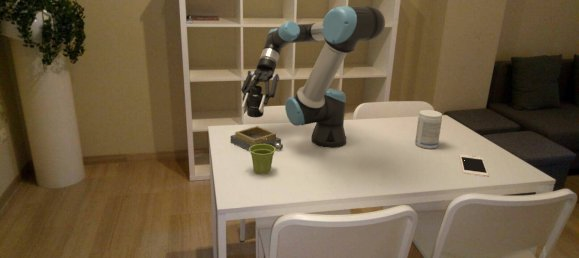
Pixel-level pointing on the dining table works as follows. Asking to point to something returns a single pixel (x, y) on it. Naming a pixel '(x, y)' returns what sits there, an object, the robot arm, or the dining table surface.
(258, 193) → the dining table surface
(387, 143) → the dining table surface
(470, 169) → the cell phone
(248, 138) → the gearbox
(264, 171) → the plant pot
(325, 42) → the robot arm
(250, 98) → the supplement bottle
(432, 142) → the supplement tub
